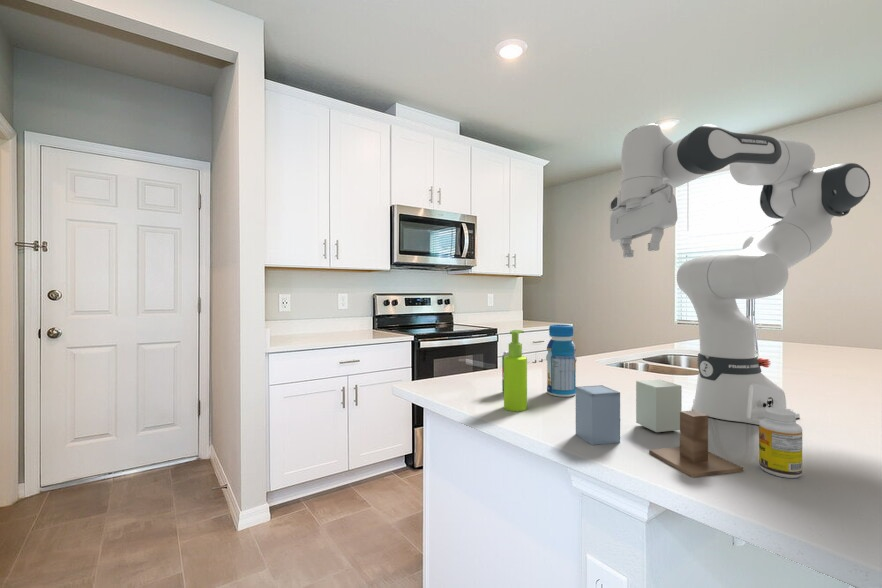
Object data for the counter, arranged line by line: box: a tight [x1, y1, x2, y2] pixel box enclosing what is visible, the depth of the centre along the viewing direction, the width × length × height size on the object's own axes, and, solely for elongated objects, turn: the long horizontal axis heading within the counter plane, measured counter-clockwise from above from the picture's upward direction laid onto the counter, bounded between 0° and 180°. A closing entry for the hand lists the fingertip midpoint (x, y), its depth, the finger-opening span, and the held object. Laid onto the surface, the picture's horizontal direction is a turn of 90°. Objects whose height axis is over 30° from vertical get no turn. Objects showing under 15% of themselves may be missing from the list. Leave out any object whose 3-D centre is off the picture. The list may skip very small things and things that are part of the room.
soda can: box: [501, 351, 509, 394], centre depth 120 cm, size 5×5×12 cm
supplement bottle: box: [758, 408, 803, 479], centre depth 68 cm, size 6×6×10 cm
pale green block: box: [635, 379, 683, 433], centre depth 89 cm, size 6×6×10 cm
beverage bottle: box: [545, 324, 577, 398], centre depth 119 cm, size 8×8×20 cm
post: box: [648, 409, 744, 478], centre depth 72 cm, size 10×10×9 cm
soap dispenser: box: [503, 329, 528, 412], centre depth 106 cm, size 6×7×20 cm
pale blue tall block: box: [575, 384, 621, 446], centre depth 84 cm, size 6×6×10 cm
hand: (640, 254), depth 94 cm, fingers open, 8 cm apart
